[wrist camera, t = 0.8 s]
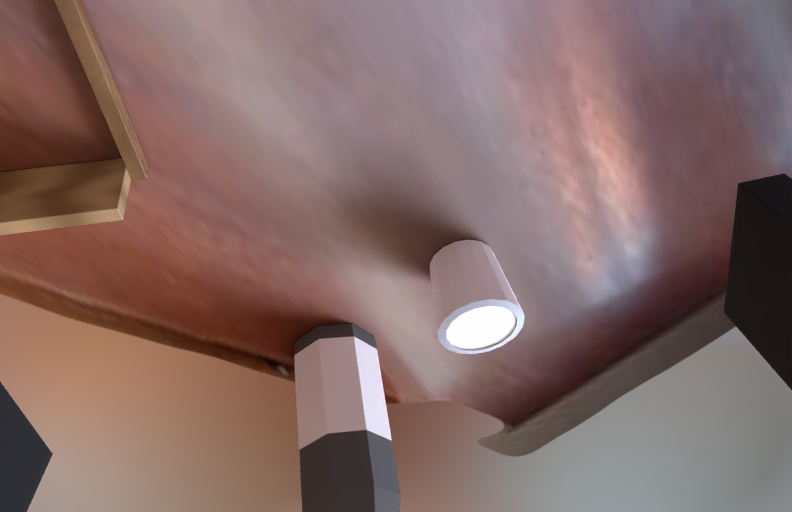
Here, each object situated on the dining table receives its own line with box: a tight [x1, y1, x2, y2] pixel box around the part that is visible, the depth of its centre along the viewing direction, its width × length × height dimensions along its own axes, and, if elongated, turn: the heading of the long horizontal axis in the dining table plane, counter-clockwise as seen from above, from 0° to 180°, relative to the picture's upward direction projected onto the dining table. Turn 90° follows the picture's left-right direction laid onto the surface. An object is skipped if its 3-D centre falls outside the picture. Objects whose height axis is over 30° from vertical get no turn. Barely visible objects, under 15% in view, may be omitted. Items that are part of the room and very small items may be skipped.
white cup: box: [429, 239, 525, 354], centre depth 52 cm, size 7×7×7 cm
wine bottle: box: [294, 323, 400, 512], centre depth 50 cm, size 8×8×30 cm
